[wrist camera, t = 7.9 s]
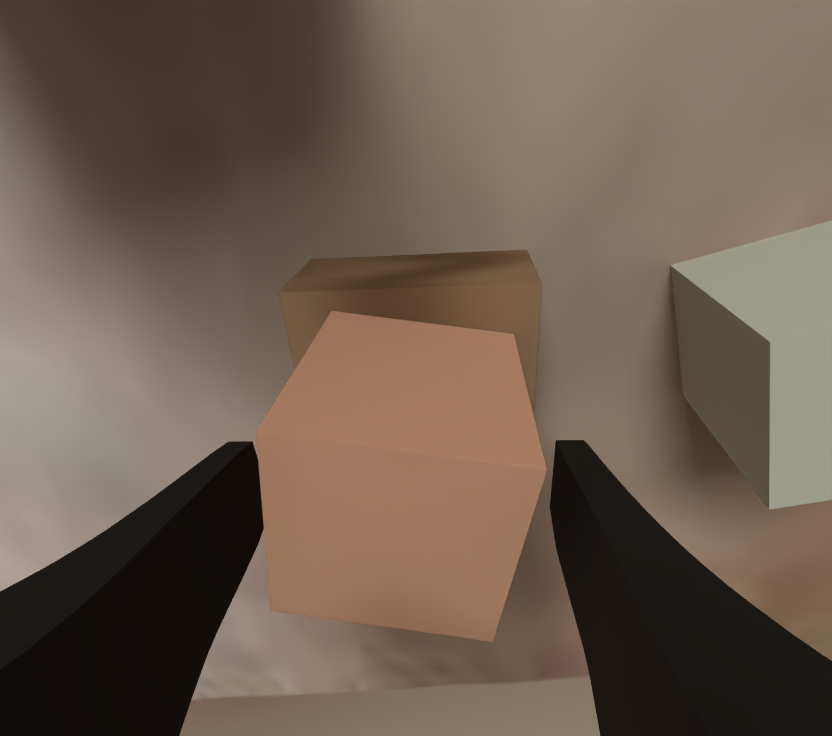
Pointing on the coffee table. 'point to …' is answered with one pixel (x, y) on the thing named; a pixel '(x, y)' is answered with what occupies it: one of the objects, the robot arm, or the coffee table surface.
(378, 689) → the coffee table surface
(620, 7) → the coffee table surface
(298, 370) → the terracotta cube
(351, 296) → the walnut base
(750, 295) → the sage cube
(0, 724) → the robot arm
